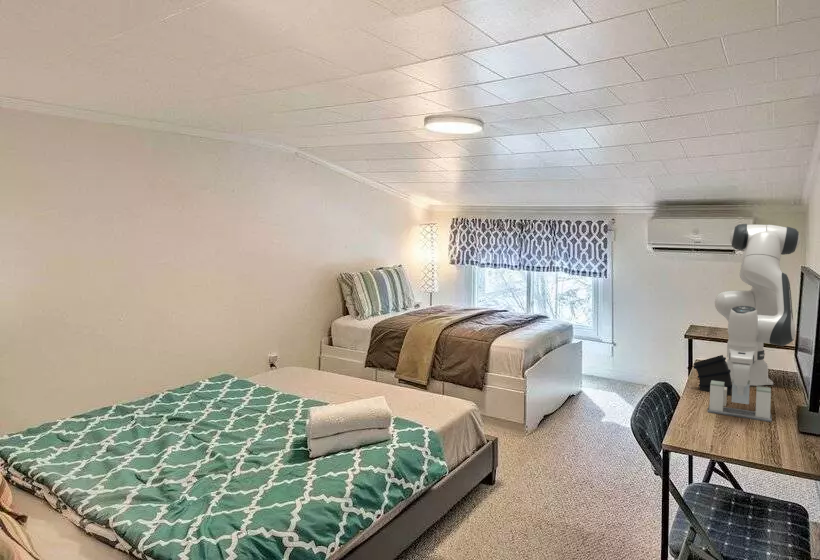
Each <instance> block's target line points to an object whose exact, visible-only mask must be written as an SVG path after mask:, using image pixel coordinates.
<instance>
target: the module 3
mask: <svg viewBox="0 0 820 560" xmlns="http://www.w3.org/2000/svg"><path fill="white" fill-rule="evenodd" d="M755 391H756V394H755V412H756V413H755V417H762V418H768V419H770V414H771V402H772V400H771V399H772V388H771V387H768V386H762V385H760V386H756V390H755Z"/></svg>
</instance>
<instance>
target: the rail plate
mask: <svg viewBox="0 0 820 560" xmlns="http://www.w3.org/2000/svg"><path fill="white" fill-rule="evenodd" d="M709 408H710V404H708V408H707V413H711V414H718V415H723V416H724V415H725V416H729V417H737V418H744V419H749V420H755V421H763V422H768V423H772V421H773V419H772V413H770V419H768V418H762V417H755V413H756V410H747V409H740V408H733V407H727V406H724V407H723V411H716V410H710V409H709Z"/></svg>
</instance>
